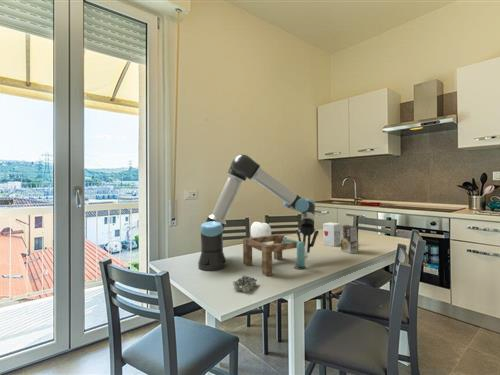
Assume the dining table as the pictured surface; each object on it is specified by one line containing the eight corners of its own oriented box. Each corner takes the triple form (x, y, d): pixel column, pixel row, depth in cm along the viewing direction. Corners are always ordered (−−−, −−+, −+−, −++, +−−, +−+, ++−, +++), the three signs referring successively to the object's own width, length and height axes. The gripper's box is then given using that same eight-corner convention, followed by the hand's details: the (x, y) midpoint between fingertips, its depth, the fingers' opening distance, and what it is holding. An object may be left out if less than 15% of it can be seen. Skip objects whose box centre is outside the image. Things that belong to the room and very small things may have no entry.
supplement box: (322, 244, 194) (322, 223, 194) (329, 242, 200) (329, 222, 200) (334, 246, 187) (333, 224, 187) (341, 244, 193) (340, 223, 193)
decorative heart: (275, 247, 188) (275, 222, 187) (263, 250, 181) (263, 224, 181) (258, 243, 202) (258, 220, 202) (247, 245, 195) (246, 221, 195)
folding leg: (280, 260, 155) (280, 237, 154) (286, 259, 157) (286, 236, 157) (300, 267, 141) (300, 242, 141) (306, 266, 143) (306, 241, 143)
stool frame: (267, 276, 130) (266, 247, 130) (243, 263, 152) (242, 238, 152) (308, 268, 142) (307, 241, 142) (280, 257, 164) (280, 233, 164)
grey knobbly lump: (246, 294, 112) (246, 284, 111) (231, 290, 115) (231, 281, 115) (258, 285, 121) (258, 275, 121) (244, 282, 125) (244, 273, 124)
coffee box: (358, 252, 171) (358, 226, 170) (350, 253, 168) (350, 227, 168) (348, 249, 179) (348, 224, 179) (340, 250, 177) (340, 225, 177)
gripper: (319, 225, 163) (318, 261, 148) (297, 225, 167) (294, 260, 151) (318, 217, 158) (317, 254, 142) (296, 217, 162) (292, 253, 146)
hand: (305, 257), depth 147 cm, fingers closed
